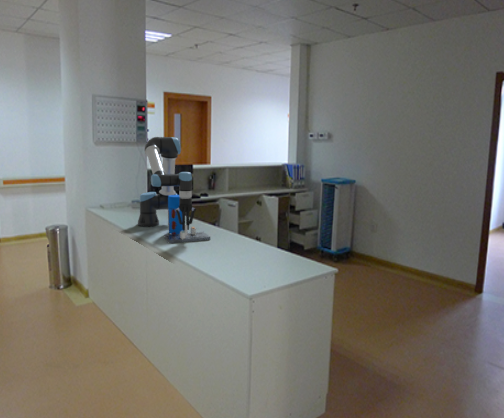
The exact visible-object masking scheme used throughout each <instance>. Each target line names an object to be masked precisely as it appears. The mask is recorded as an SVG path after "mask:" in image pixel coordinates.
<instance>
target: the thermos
mask: <svg viewBox="0 0 504 418" xmlns="http://www.w3.org/2000/svg"><path fill="white" fill-rule="evenodd" d="M179 198H180V197H179V194H177V195H169V196H168V209H167V210H168V211H167V213H168V215H167V216H168V217H167V219H168V221H167V222H168V224H167V225H168V234H169V235H171V234H180V232H181V231H184V230H183V229H182V225H181V224H180V223H179V220H178V216H177V212H176V211H175V209H177V208H179ZM179 210H180V209H179ZM179 213H180V217H181V220H182V212H181V210H180V211H179Z"/></svg>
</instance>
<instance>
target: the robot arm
mask: <svg viewBox="0 0 504 418" xmlns="http://www.w3.org/2000/svg"><path fill="white" fill-rule="evenodd" d="M181 152H182V148H181V143H180V140H179V138H177V137H176V136H175V137H174V136H168V137H167V136H155V137H152V138H150V139H149V140H148V141H146V143H145V146H144V154H145V156H146V157H147V158H148V159H147V160H148V162H149V165H150V166H149V167H150V169H151V173H152V174H151V176H150V182H151V183H150V184H151V186H152V187H157V188H160V187H161V189H160V190H159V191H158V193H157V192H156V191H149V192H148V191H147V192H143V193H141V194H140V195H139V200H138V201H139V216H138V219H137V225H138V226H139V227H156V226H159V225H160V220H159V218H158V214H157V211H161V210H164V211H165V210H168V196H169V195H179V197H180V198H179V208H177V209H175V211H176V212H177V216H178V220H179V223H180V224H181V225H182V229H183V230H184V231H185V236H188V233H189V232H188V231H190V230H189V229H190V225H192V224H193V221H194V216H195V212H196V211H197V208H195V207H193V203H192V202H193V199H192V196H193V195H192V194H193V189H192V188H193V187H192V185H193V184H192V183H193V177H192V173H191V172H189V171H181V172H179V173H175V171H176V168H175V167H176V159H177V158H178V155H181ZM174 187H179V189H178V191H179V194H178V193H177V192H176V190H175V189H174ZM179 209H180V210H181V212H182V220H181V217H180V213H179V211H180V210H179Z"/></svg>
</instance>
